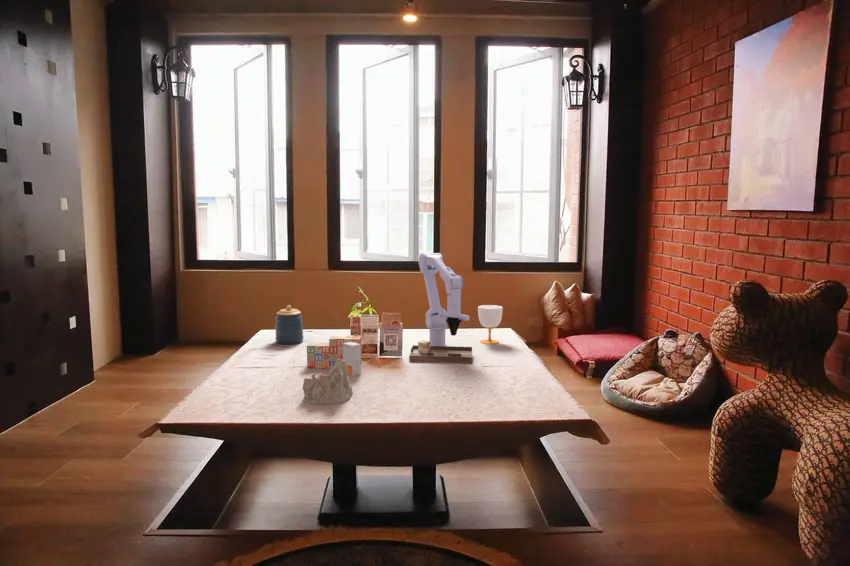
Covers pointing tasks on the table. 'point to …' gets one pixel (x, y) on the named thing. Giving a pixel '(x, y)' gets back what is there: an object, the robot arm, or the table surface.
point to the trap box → (442, 354)
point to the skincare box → (352, 357)
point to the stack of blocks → (328, 351)
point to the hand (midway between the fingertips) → (453, 335)
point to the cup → (490, 319)
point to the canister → (289, 326)
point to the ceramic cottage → (329, 386)
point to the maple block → (424, 346)
